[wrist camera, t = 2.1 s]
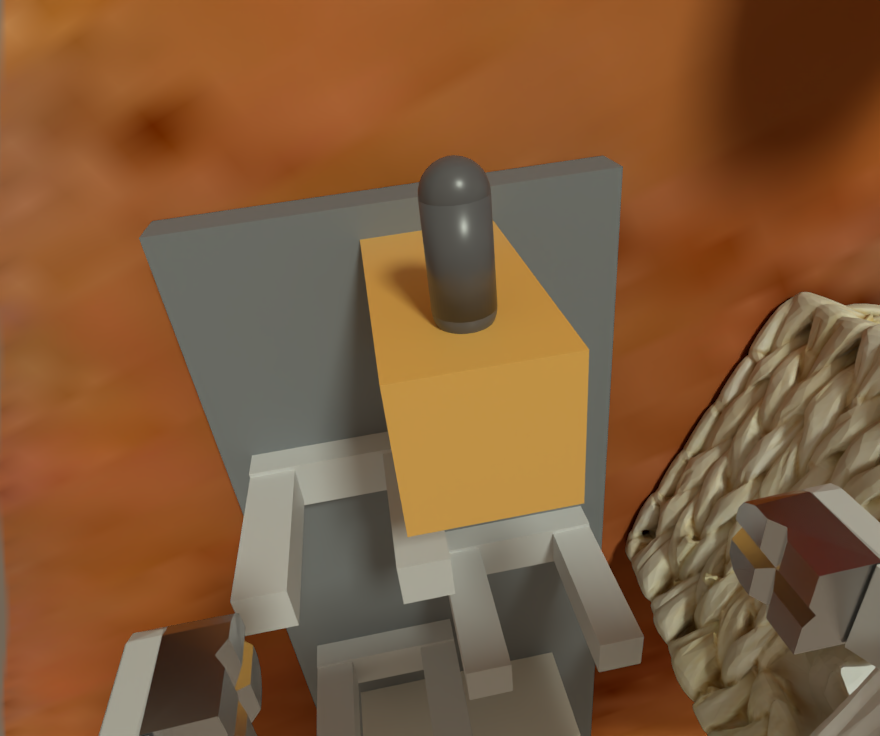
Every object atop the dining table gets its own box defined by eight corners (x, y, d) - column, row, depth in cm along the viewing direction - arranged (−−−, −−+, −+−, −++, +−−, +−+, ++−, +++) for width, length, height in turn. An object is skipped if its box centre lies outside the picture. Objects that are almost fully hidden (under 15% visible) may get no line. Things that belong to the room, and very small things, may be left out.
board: (603, 155, 19) (737, 232, 13) (581, 718, 37) (634, 869, 31) (151, 221, 18) (59, 340, 12) (349, 770, 36) (354, 936, 29)
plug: (485, 97, 17) (595, 166, 10) (499, 335, 20) (584, 503, 14) (337, 117, 16) (346, 203, 9) (380, 355, 20) (407, 536, 13)
